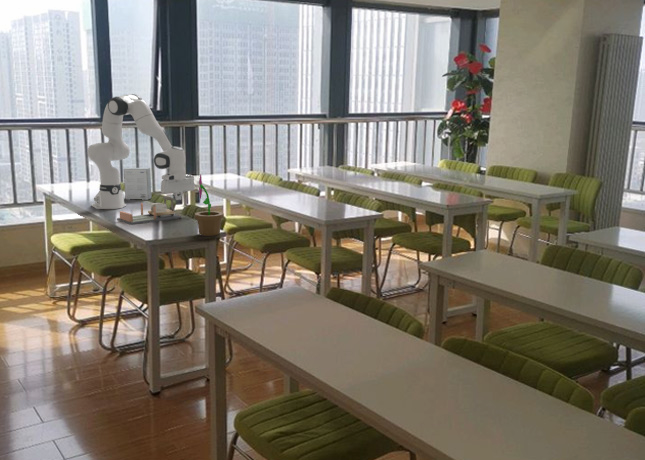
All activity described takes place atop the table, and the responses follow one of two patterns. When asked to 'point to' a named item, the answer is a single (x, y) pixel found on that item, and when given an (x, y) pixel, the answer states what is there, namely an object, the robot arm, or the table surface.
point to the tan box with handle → (162, 208)
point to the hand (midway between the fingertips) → (178, 199)
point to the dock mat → (151, 220)
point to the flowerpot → (208, 217)
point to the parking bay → (130, 218)
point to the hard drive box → (137, 183)
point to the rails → (148, 217)
